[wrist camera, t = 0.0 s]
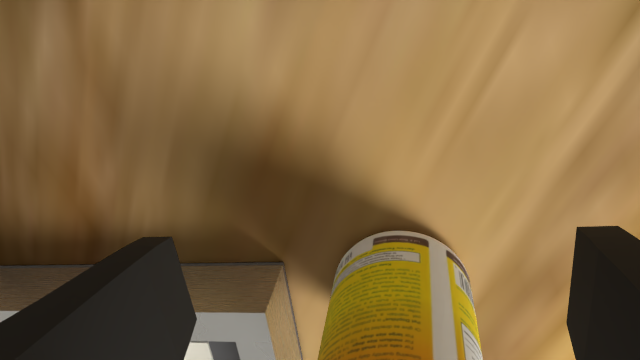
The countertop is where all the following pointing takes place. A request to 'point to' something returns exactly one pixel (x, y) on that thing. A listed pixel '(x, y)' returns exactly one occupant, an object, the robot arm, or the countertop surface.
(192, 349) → the arena
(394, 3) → the countertop surface
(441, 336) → the supplement bottle
